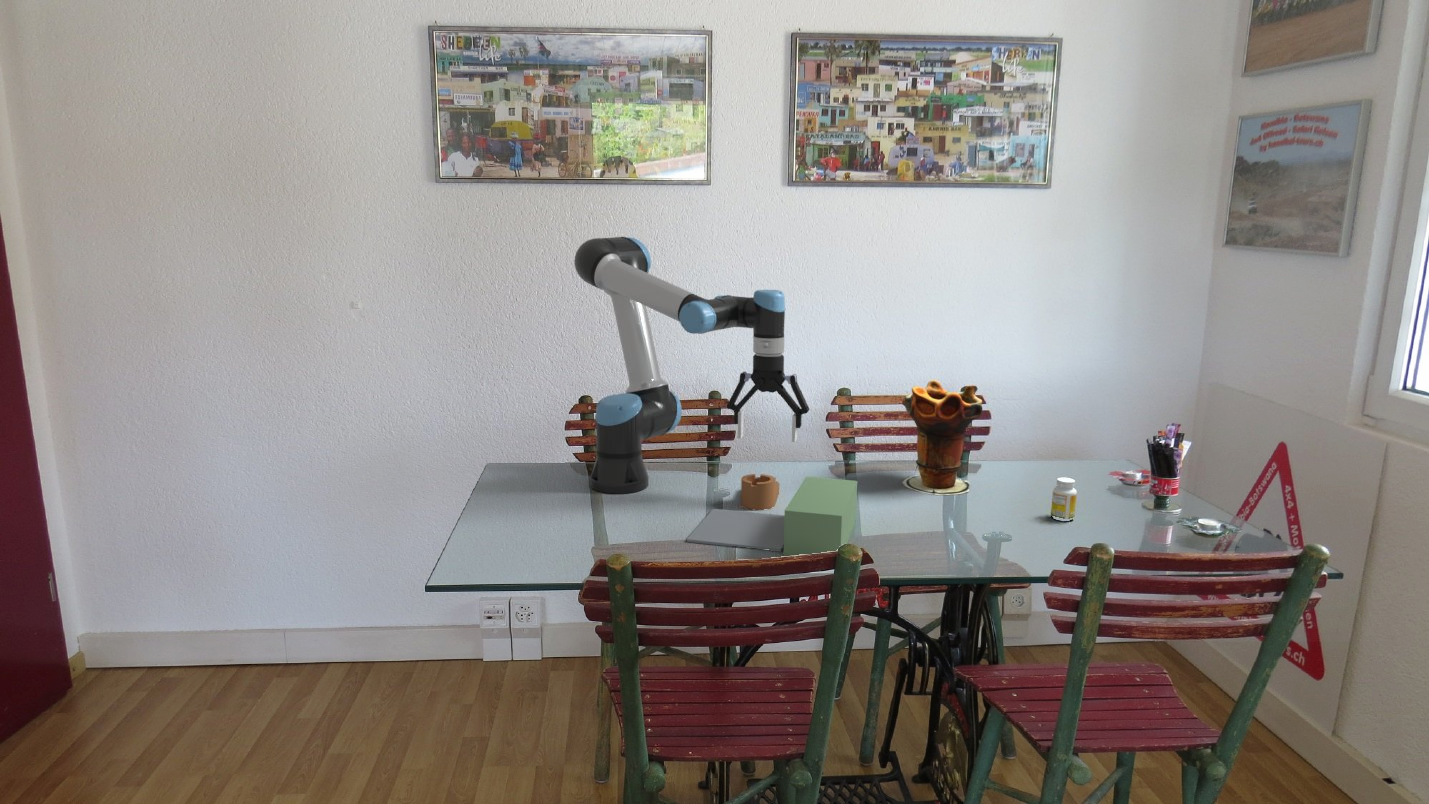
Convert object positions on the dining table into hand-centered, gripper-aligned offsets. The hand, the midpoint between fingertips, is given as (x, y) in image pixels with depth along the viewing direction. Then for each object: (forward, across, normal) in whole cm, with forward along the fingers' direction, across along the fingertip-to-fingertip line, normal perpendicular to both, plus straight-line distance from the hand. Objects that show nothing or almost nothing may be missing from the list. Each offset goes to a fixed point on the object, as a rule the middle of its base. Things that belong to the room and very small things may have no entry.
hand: (767, 439), depth 238 cm
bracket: (+16, -2, 0) cm, 16 cm away
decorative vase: (+16, +41, +25) cm, 50 cm away
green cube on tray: (+16, +7, -24) cm, 29 cm away
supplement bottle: (+16, +71, +6) cm, 73 cm away
